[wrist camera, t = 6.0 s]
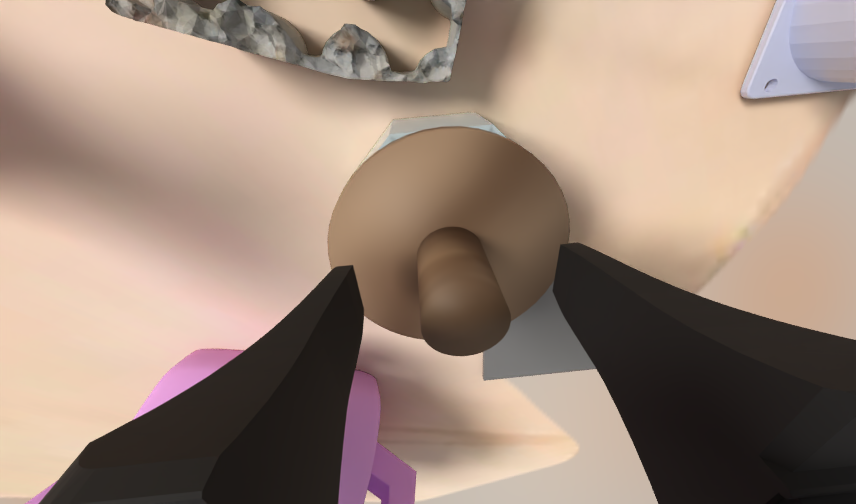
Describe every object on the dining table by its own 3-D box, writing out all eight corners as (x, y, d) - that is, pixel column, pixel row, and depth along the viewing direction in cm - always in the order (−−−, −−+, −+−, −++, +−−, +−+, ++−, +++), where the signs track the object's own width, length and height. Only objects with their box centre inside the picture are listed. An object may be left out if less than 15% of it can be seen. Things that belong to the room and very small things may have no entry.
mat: (626, 269, 19) (630, 273, 19) (596, 364, 24) (599, 368, 24) (484, 284, 19) (486, 288, 19) (482, 375, 24) (483, 380, 24)
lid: (608, 173, 12) (709, 227, 8) (501, 343, 17) (531, 431, 13) (358, 84, 10) (326, 97, 6) (316, 307, 15) (282, 399, 11)
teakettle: (427, 420, 27) (440, 649, 16) (276, 475, 30) (206, 695, 20) (295, 288, 19) (152, 575, 8) (108, 384, 22) (-164, 675, 12)
